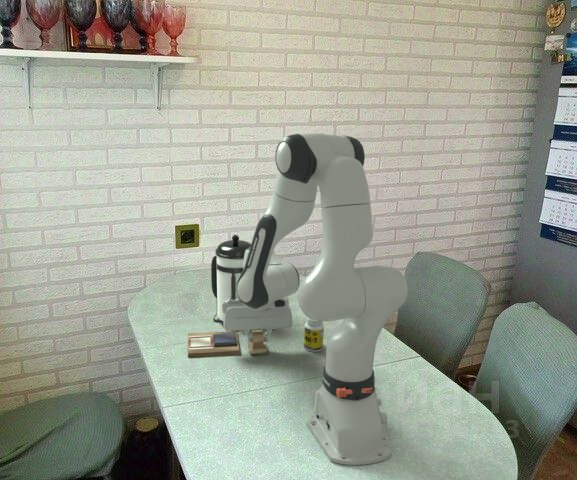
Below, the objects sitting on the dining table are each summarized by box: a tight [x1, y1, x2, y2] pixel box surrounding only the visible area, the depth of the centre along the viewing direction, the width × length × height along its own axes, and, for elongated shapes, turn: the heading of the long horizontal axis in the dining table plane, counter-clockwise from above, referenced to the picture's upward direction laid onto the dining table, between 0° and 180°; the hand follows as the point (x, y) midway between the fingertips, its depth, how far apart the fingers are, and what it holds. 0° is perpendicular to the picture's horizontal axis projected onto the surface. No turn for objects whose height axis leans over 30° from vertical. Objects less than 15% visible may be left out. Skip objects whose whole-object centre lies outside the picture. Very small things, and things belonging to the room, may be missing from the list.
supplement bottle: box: [303, 316, 325, 353], centre depth 170 cm, size 6×6×10 cm
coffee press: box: [210, 234, 251, 322], centre depth 184 cm, size 17×16×30 cm
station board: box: [187, 330, 241, 358], centre depth 171 cm, size 13×15×2 cm
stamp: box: [247, 329, 268, 356], centre depth 168 cm, size 5×5×6 cm
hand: (257, 341), depth 168 cm, fingers closed on stamp, 3 cm apart
